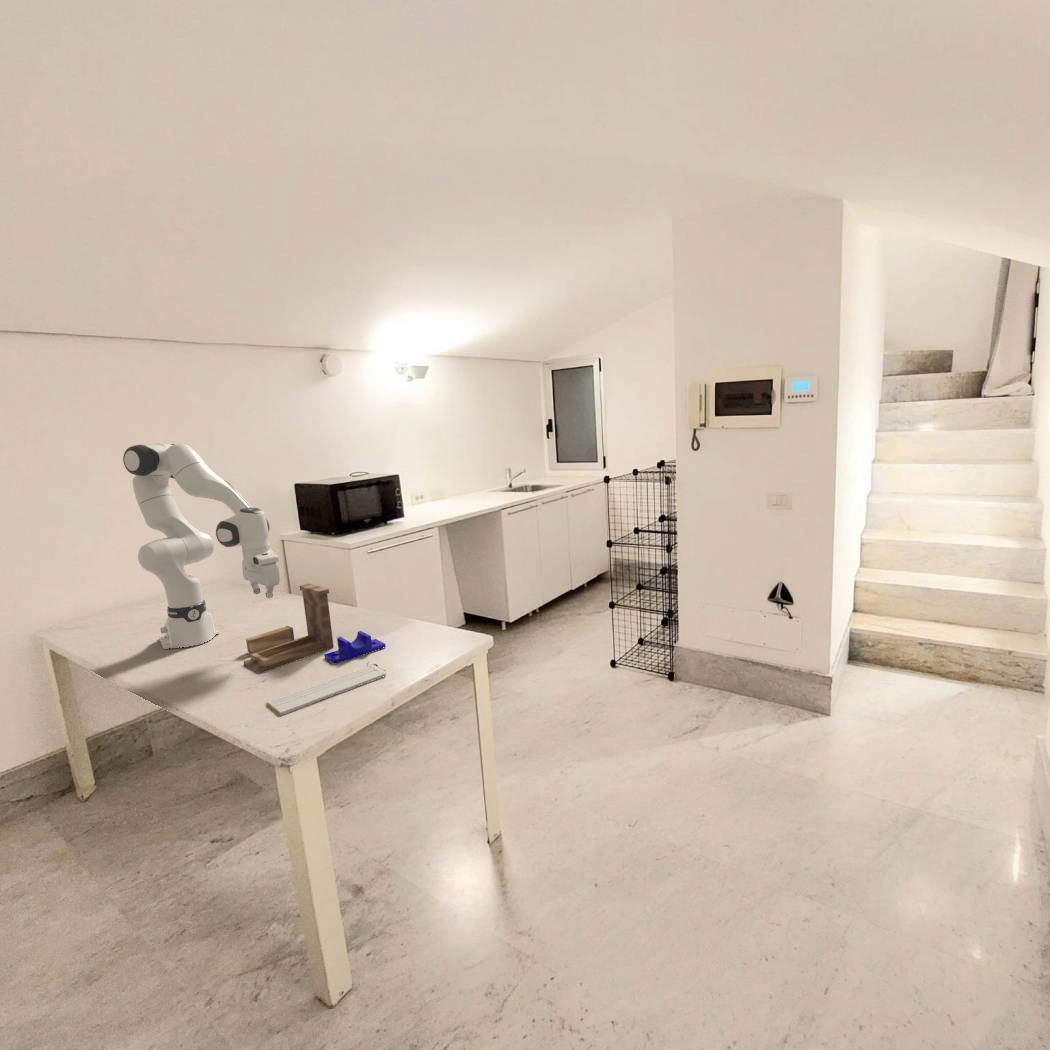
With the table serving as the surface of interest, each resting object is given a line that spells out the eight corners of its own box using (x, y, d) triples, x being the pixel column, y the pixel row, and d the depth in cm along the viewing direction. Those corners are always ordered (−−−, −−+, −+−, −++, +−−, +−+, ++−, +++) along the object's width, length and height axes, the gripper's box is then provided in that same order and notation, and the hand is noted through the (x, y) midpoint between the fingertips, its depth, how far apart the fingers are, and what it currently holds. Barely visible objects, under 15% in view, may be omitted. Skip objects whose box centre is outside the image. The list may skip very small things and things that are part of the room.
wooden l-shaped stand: (243, 664, 193) (234, 602, 189) (316, 639, 211) (309, 583, 208) (261, 673, 184) (252, 609, 180) (335, 647, 202) (328, 588, 199)
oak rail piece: (247, 652, 203) (245, 638, 202) (289, 639, 214) (287, 625, 213) (252, 655, 200) (250, 640, 199) (294, 641, 211) (292, 627, 210)
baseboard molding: (264, 704, 164) (281, 718, 156) (263, 694, 164) (279, 707, 155) (366, 667, 185) (386, 678, 176) (365, 658, 185) (385, 668, 176)
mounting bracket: (334, 665, 188) (332, 647, 187) (324, 659, 193) (322, 641, 192) (385, 648, 199) (384, 631, 198) (375, 643, 205) (373, 627, 204)
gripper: (234, 554, 206) (240, 593, 208) (261, 561, 192) (267, 602, 194) (253, 551, 210) (258, 589, 213) (280, 556, 197) (286, 597, 199)
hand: (263, 595), depth 203 cm, fingers open, 8 cm apart
